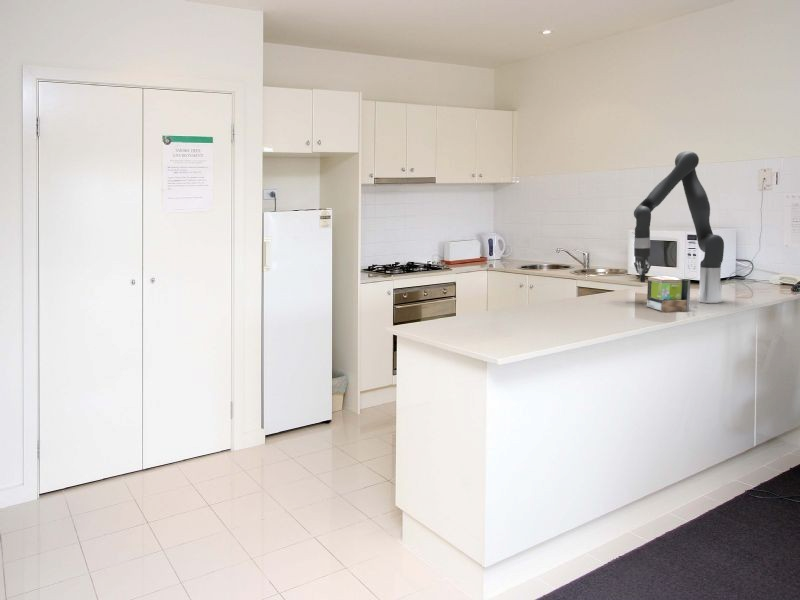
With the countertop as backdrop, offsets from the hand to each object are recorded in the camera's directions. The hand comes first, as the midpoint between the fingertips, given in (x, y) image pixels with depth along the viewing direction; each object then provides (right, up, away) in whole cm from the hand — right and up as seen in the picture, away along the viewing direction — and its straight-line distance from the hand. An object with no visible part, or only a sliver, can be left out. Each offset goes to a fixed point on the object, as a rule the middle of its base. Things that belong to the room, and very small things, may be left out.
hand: (642, 282), depth 344 cm
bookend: (+11, -13, -20) cm, 26 cm away
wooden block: (+6, -14, -26) cm, 30 cm away
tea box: (+4, -13, -18) cm, 23 cm away
